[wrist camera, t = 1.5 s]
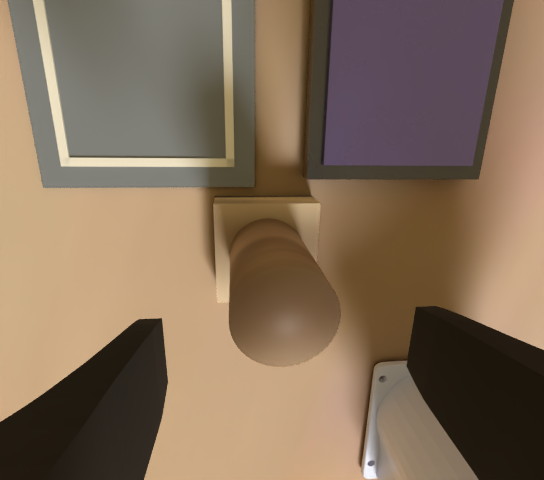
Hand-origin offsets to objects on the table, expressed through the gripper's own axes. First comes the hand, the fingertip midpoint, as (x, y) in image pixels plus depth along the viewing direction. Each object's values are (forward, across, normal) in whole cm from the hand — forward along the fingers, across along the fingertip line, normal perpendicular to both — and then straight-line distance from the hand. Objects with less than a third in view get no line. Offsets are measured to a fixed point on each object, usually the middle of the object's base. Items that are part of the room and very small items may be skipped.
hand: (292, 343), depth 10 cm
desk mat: (+9, +6, -8) cm, 13 cm away
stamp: (+9, 0, 0) cm, 9 cm away
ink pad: (+9, -6, -8) cm, 14 cm away
